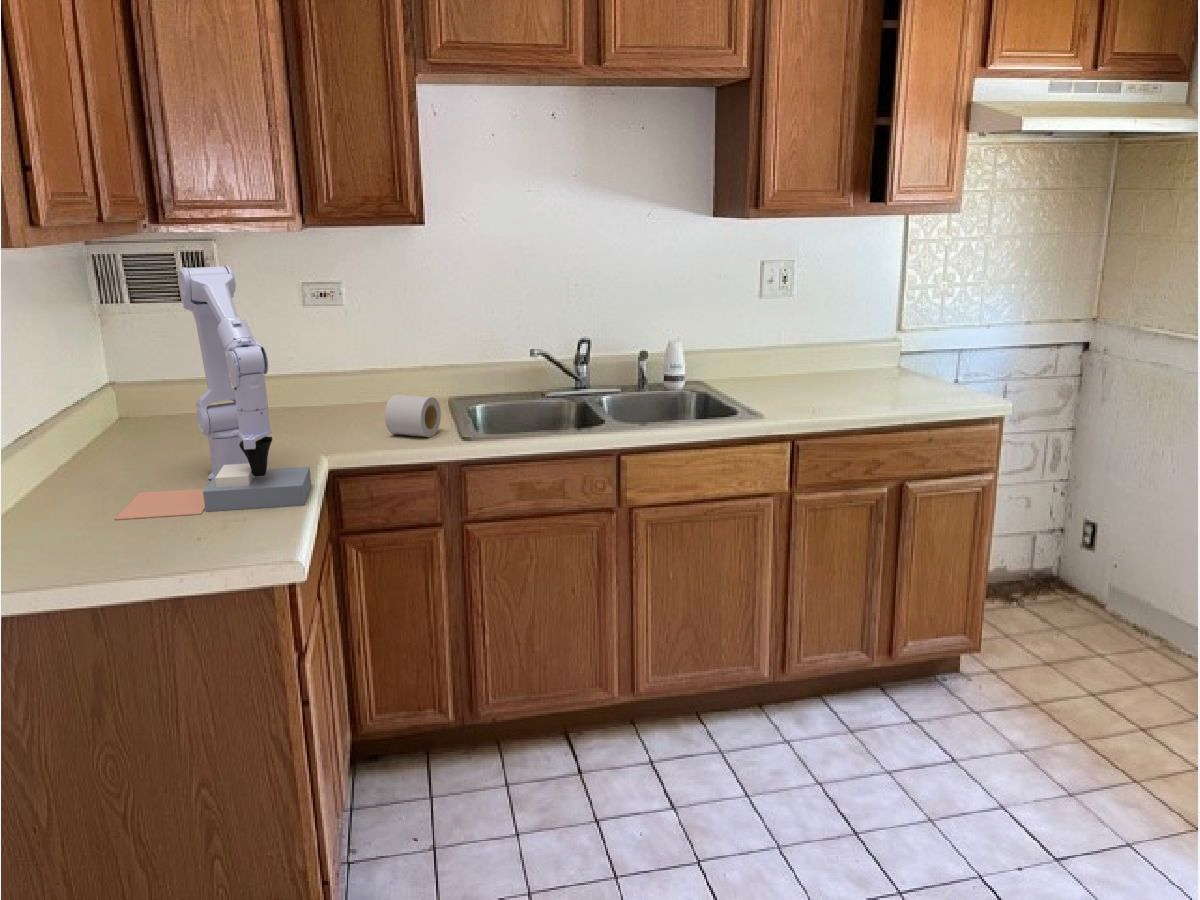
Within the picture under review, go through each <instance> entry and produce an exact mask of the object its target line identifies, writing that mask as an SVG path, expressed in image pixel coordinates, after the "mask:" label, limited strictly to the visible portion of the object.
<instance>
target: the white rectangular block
mask: <svg viewBox="0 0 1200 900" xmlns="http://www.w3.org/2000/svg"><path fill="white" fill-rule="evenodd" d="M253 478H254V475H253V473H252V470H251V467H250V464H249V463H248V464H231V465H224V466H223V467H222V469H221V470H220V471H219V473H218V474H217V476H216V477H215V482H216V488H222V487H238V486H249V485H250V484H251V482H252V480H253Z"/></svg>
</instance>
